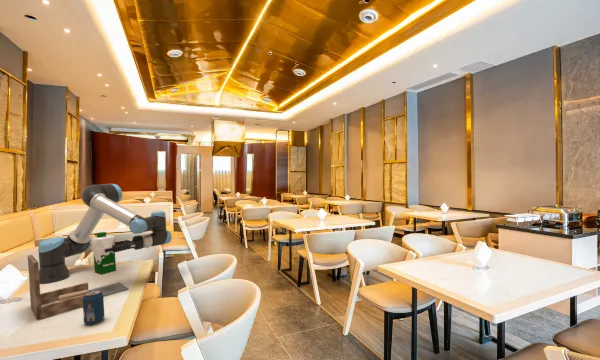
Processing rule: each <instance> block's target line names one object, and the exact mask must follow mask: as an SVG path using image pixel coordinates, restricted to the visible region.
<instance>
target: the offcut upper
mask: <svg viewBox="0 0 600 360" xmlns="http://www.w3.org/2000/svg"><path fill="white" fill-rule="evenodd" d="M88 290H89V289H88ZM88 290H84V291H79V292H75V293H70V294H65V295H61V296H59V301H62V300H66V299H70V298H73V297H77V296H81V295H84V294H85V293H87V292H88ZM59 301H58V302H59Z"/></svg>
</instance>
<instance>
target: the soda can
mask: <svg viewBox="0 0 600 360" xmlns="http://www.w3.org/2000/svg"><path fill="white" fill-rule="evenodd" d="M104 301H105V300H104V297H103V293H102V292H101V290H93V291H89V292H87V293H85V294H84V297H83V307H82V309H83V310H82V314H83V315H82V316H83V322H84V324H85V325H87V326H95V325H98V324H100V323H101V322H102V321H103V320H104V318H105V304H104Z"/></svg>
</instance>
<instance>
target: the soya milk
mask: <svg viewBox="0 0 600 360" xmlns="http://www.w3.org/2000/svg"><path fill="white" fill-rule="evenodd" d="M91 242H92V246H93V252H92V253H93V266H94V268H93V269H94V273H95V274H98V275H101V276H102V275H106V274H110V273H113V272H116V271H117V265H116V262H117V261H116V252H113V251H112V252H109V253H104V254H99V255H97V253H96V249H100V248H106V247H112V245H115V242H116V236H114V235H111V234H110V235H109V234H107V232H106V231H103V232H102V231H101V232H100V231H99V232H97V233H96V236H95V237H91Z"/></svg>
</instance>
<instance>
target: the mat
mask: <svg viewBox="0 0 600 360" xmlns="http://www.w3.org/2000/svg"><path fill="white" fill-rule="evenodd" d="M88 290H89V291H93V290H101V292H102V293H103V298H104V297H107V296H110V295H114V294H117V293H121V292H124V291H127V290H129V287H128V286H126V285H124V284H123V283H121V282H115V283H110V284H107V285H103V286H100V287H95V288H91V289H88Z"/></svg>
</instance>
